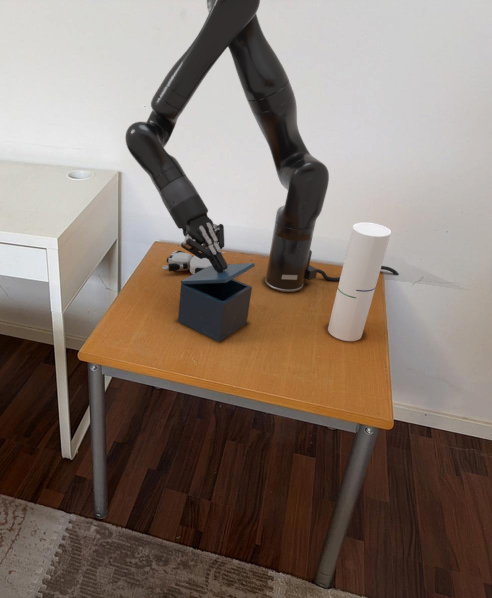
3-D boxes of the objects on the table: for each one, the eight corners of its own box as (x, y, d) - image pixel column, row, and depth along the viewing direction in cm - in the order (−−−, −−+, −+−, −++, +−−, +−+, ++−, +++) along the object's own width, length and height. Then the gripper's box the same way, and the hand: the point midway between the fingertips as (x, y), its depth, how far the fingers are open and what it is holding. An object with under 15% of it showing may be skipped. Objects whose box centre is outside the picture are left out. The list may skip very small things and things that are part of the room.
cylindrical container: (364, 342, 125) (394, 237, 112) (330, 339, 126) (356, 235, 113) (358, 325, 131) (386, 223, 118) (325, 321, 132) (349, 221, 119)
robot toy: (160, 279, 152) (216, 285, 146) (159, 263, 149) (217, 269, 144) (173, 259, 161) (226, 265, 156) (172, 245, 159) (227, 250, 154)
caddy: (246, 323, 131) (252, 286, 126) (219, 342, 125) (223, 303, 120) (205, 304, 139) (209, 269, 134) (177, 321, 132) (180, 284, 127)
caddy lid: (255, 266, 124) (254, 262, 124) (226, 282, 118) (225, 279, 118) (210, 269, 134) (209, 265, 133) (181, 284, 127) (180, 281, 127)
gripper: (173, 201, 118) (216, 273, 117) (212, 186, 126) (252, 254, 125) (153, 218, 125) (193, 287, 123) (191, 202, 132) (229, 267, 131)
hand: (223, 270), depth 124 cm, fingers closed
